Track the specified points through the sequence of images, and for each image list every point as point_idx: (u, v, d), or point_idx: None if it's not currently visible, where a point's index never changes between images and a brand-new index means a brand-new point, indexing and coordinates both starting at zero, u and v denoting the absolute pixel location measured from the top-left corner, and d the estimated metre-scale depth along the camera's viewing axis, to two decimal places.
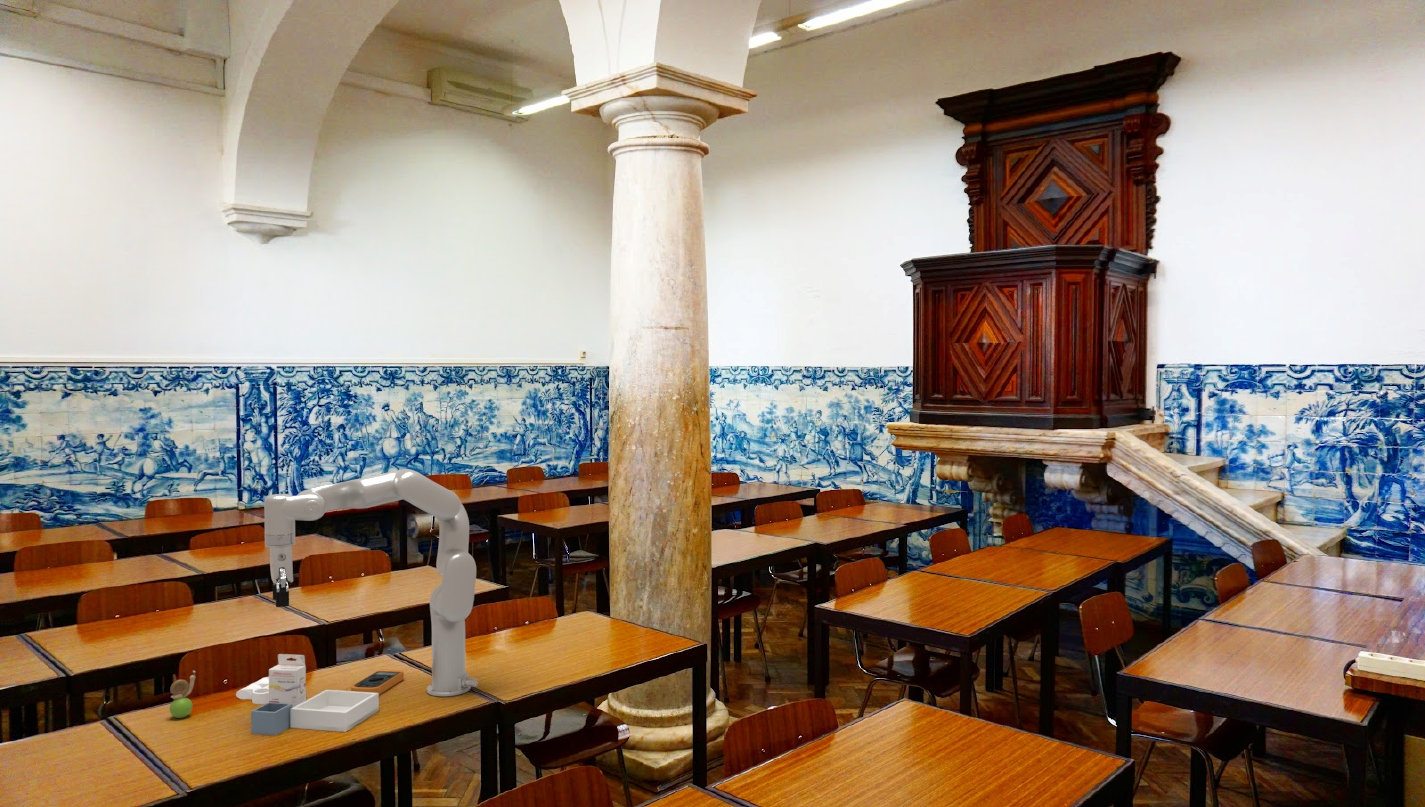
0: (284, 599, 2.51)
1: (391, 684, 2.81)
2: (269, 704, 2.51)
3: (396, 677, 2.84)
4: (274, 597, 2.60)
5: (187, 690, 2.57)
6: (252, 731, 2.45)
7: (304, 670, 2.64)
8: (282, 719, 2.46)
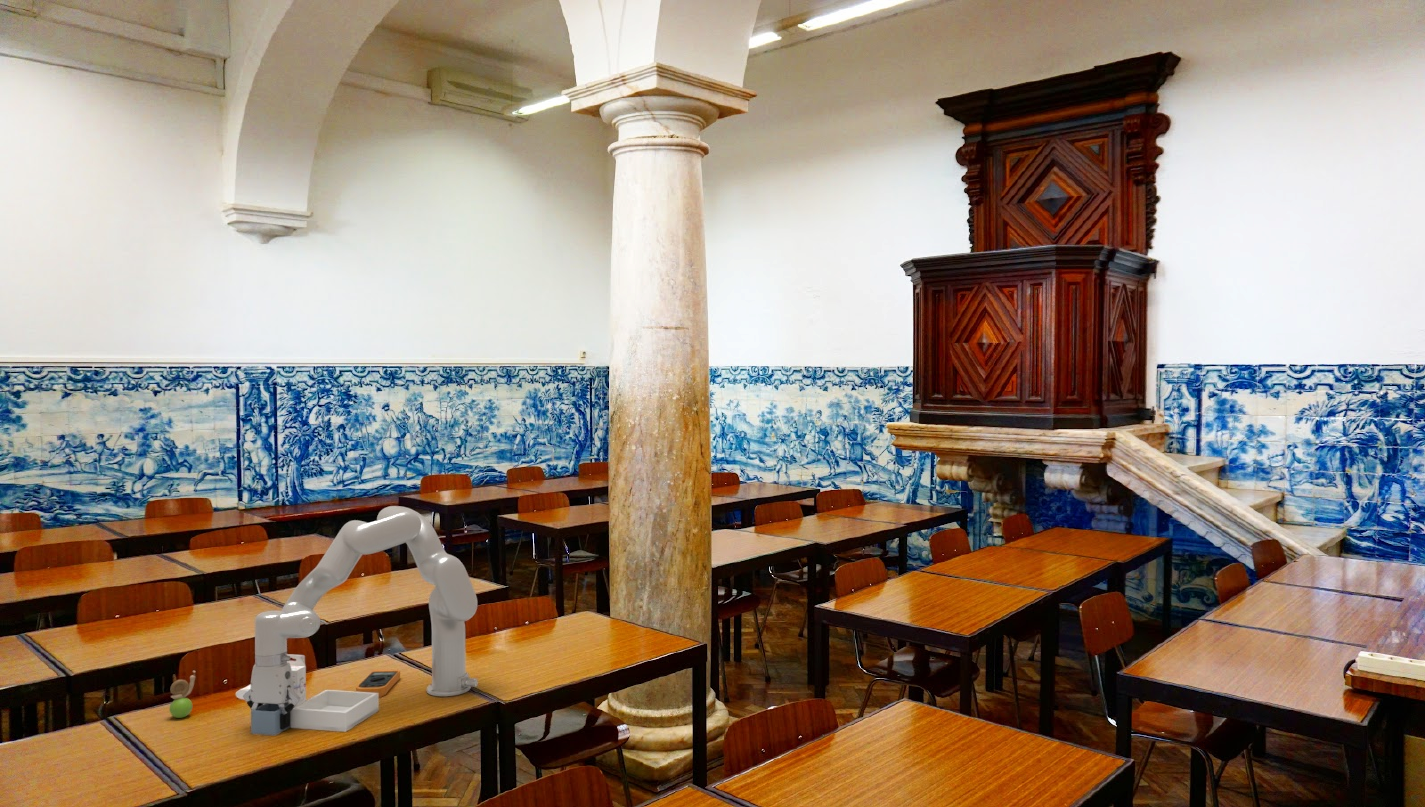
0: (289, 719, 2.47)
1: (393, 683, 2.82)
2: (269, 704, 2.51)
3: (395, 676, 2.85)
4: None
5: (187, 690, 2.57)
6: (252, 731, 2.45)
7: (304, 670, 2.64)
8: None
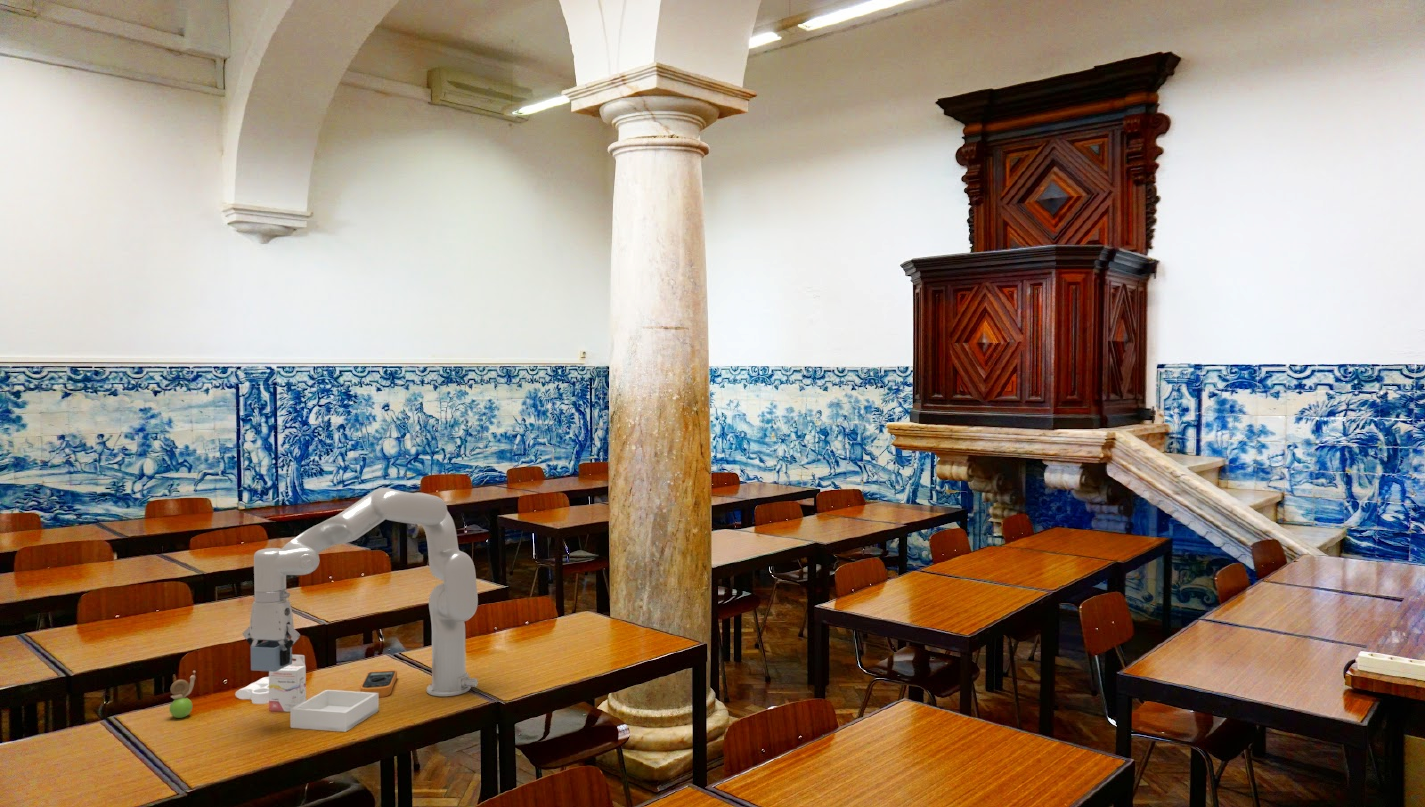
0: (289, 656, 2.47)
1: (393, 682, 2.83)
2: (269, 642, 2.50)
3: (395, 675, 2.86)
4: None
5: (187, 690, 2.57)
6: (252, 667, 2.44)
7: (304, 670, 2.64)
8: None
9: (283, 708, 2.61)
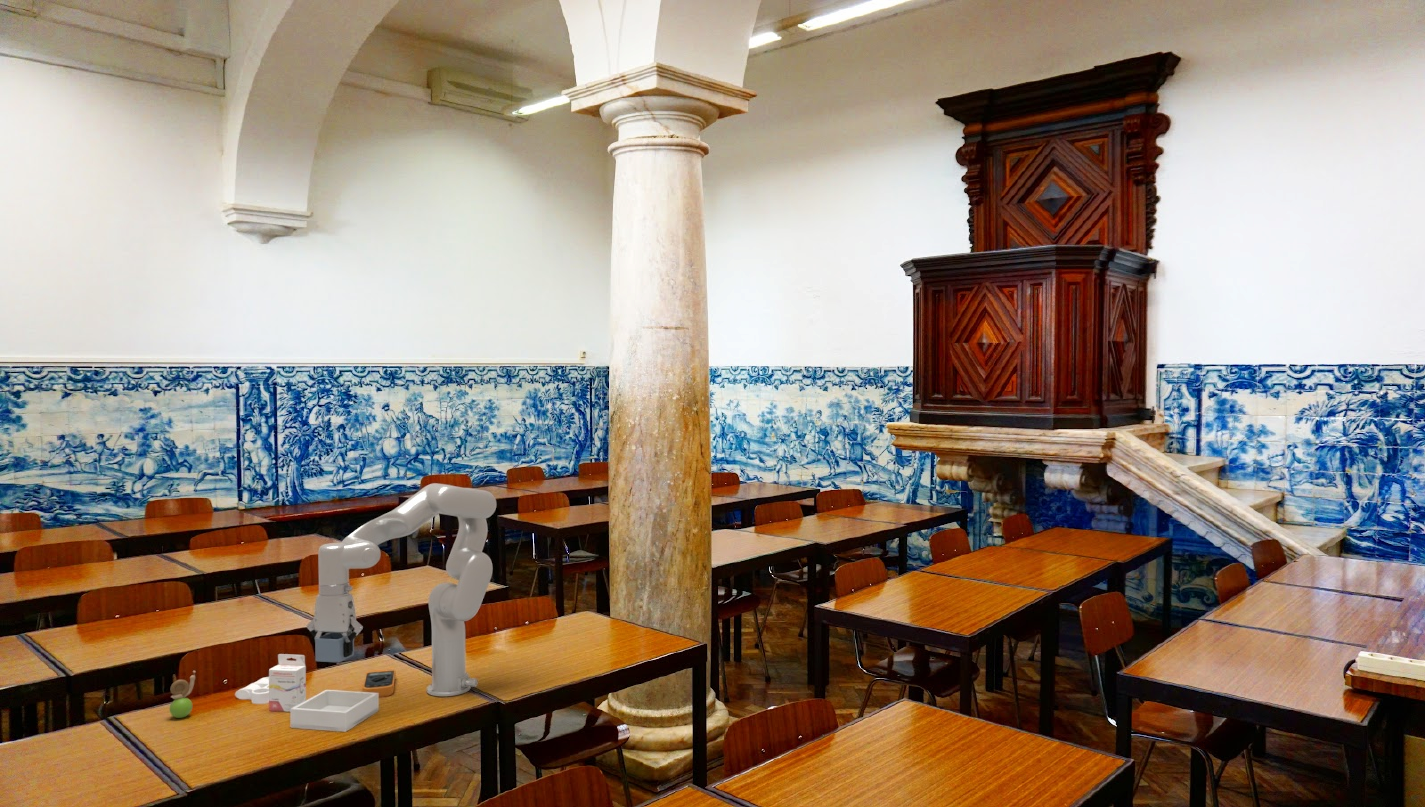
0: (351, 648, 2.54)
1: None
2: (331, 633, 2.58)
3: (394, 675, 2.86)
4: None
5: (187, 690, 2.57)
6: (316, 658, 2.52)
7: (304, 670, 2.64)
8: None
9: (283, 708, 2.61)
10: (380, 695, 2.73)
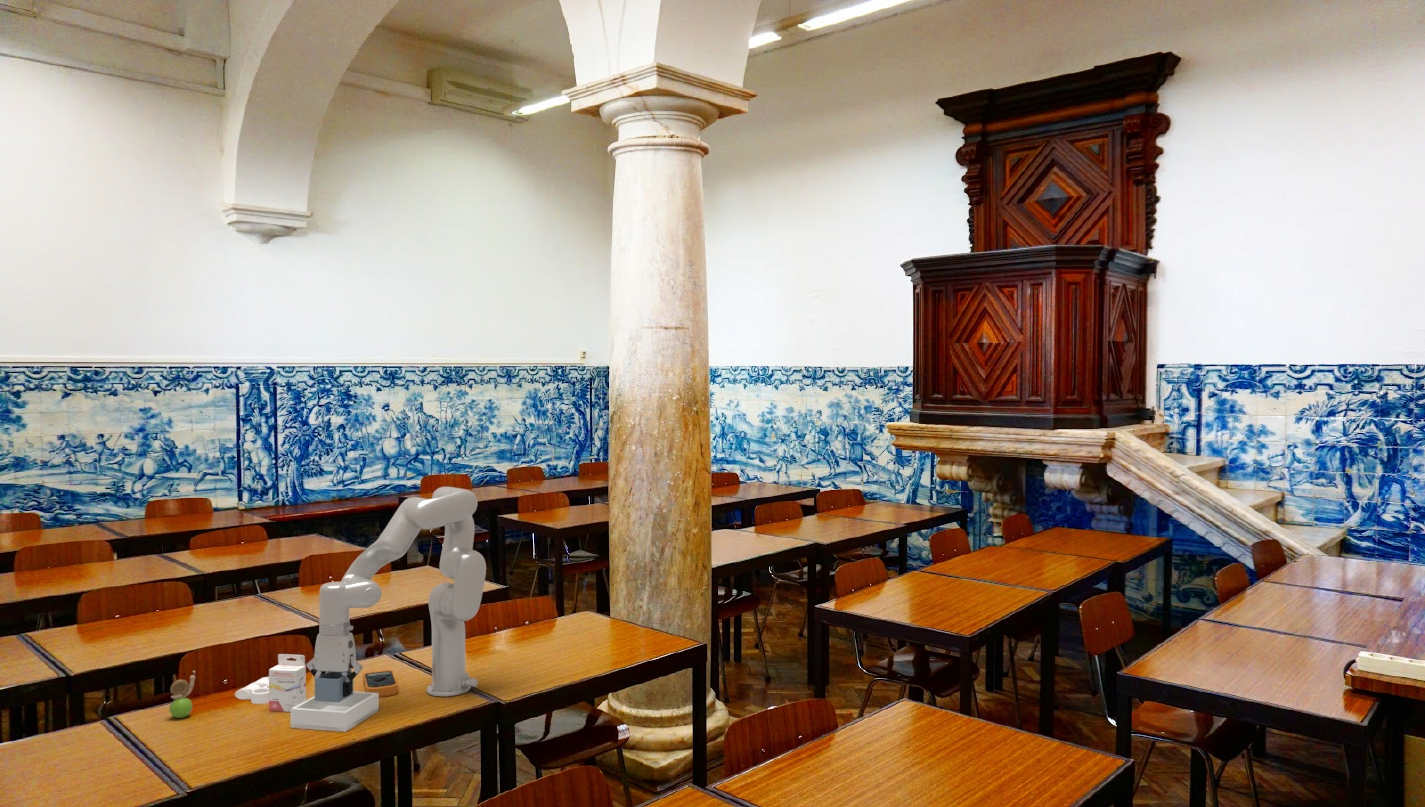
0: (351, 687, 2.54)
1: None
2: (331, 672, 2.58)
3: None
4: None
5: (187, 690, 2.57)
6: (315, 698, 2.52)
7: (304, 670, 2.64)
8: None
9: (283, 708, 2.61)
10: (385, 694, 2.73)
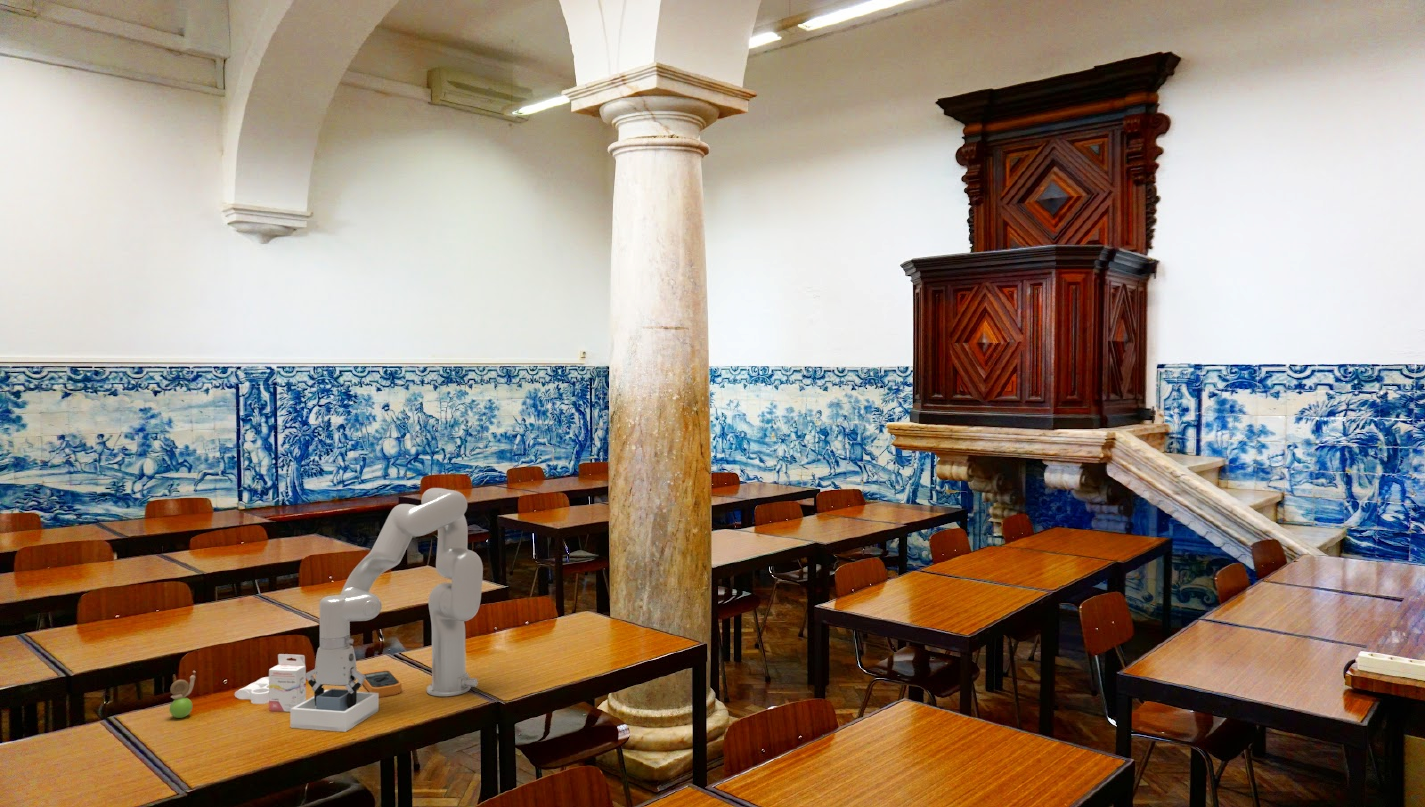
0: (355, 698, 2.54)
1: None
2: (332, 690, 2.58)
3: None
4: None
5: (187, 690, 2.57)
6: None
7: (304, 670, 2.64)
8: (346, 705, 2.54)
9: (283, 708, 2.61)
10: (390, 693, 2.74)
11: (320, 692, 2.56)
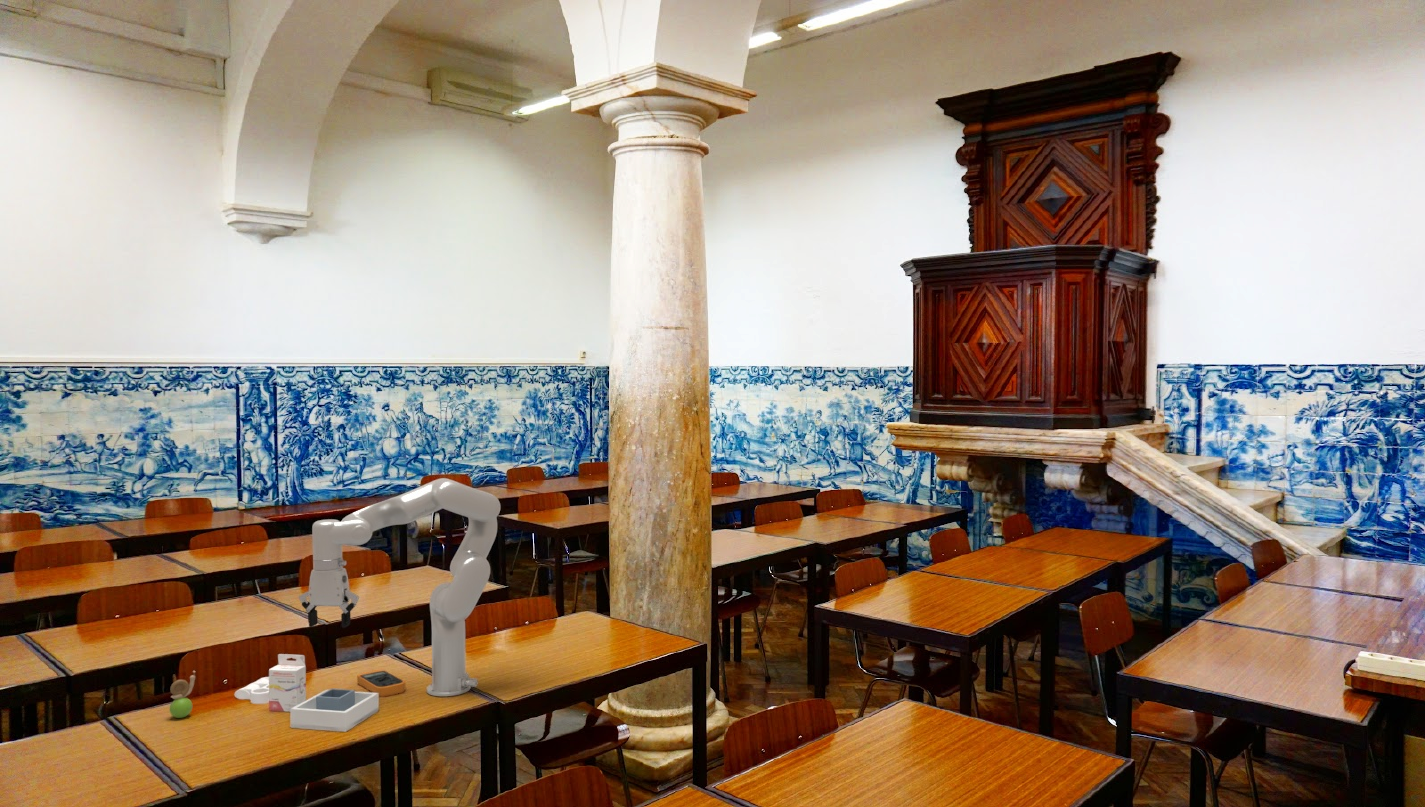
0: (349, 618, 2.61)
1: None
2: (332, 690, 2.58)
3: None
4: (312, 624, 2.61)
5: (187, 690, 2.57)
6: None
7: (304, 670, 2.64)
8: (346, 705, 2.54)
9: (283, 708, 2.61)
10: (396, 692, 2.75)
11: (314, 614, 2.62)
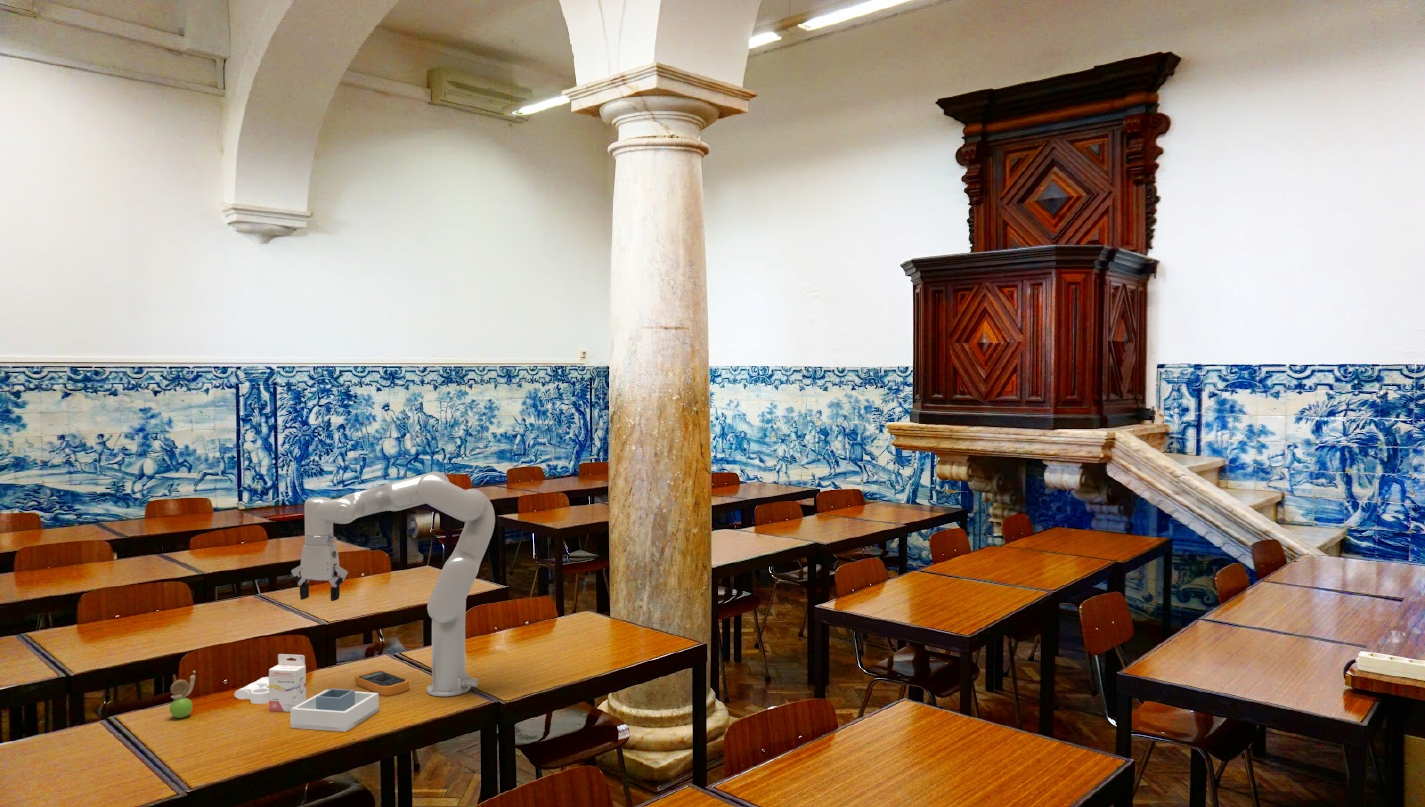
0: (338, 592, 2.72)
1: None
2: (332, 690, 2.58)
3: None
4: (303, 597, 2.73)
5: (187, 690, 2.57)
6: None
7: (304, 670, 2.64)
8: (346, 705, 2.54)
9: (283, 708, 2.61)
10: (400, 691, 2.76)
11: (305, 587, 2.74)
